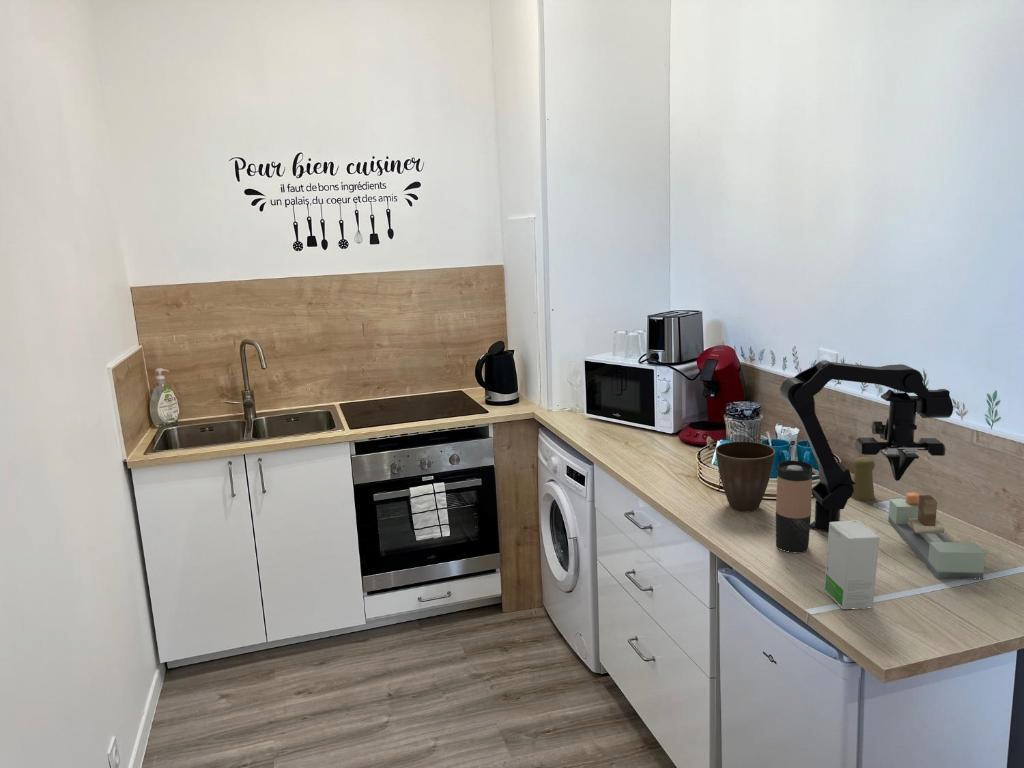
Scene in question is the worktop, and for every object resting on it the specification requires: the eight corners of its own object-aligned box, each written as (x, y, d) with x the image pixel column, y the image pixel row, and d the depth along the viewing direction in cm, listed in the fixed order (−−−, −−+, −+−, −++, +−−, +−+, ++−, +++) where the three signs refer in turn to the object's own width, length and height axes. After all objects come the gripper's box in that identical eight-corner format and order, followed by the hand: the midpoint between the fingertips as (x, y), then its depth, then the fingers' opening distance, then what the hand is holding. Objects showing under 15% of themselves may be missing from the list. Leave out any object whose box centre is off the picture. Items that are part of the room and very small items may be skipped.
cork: (877, 501, 202) (879, 462, 200) (852, 500, 203) (855, 461, 201) (871, 493, 208) (873, 454, 206) (847, 492, 209) (849, 454, 207)
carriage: (944, 533, 174) (946, 502, 173) (916, 532, 175) (918, 502, 173) (935, 524, 179) (937, 494, 177) (908, 524, 180) (910, 494, 178)
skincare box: (823, 591, 157) (826, 521, 154) (853, 588, 158) (857, 518, 154) (843, 611, 149) (848, 538, 145) (876, 609, 149) (881, 535, 146)
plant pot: (743, 522, 193) (744, 462, 189) (702, 504, 206) (703, 447, 202) (785, 509, 200) (787, 451, 196) (744, 492, 213) (745, 438, 209)
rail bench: (983, 579, 159) (985, 552, 158) (937, 578, 160) (939, 552, 159) (926, 522, 188) (928, 499, 187) (888, 521, 189) (889, 499, 188)
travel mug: (808, 541, 180) (812, 461, 176) (810, 555, 173) (813, 472, 169) (774, 538, 183) (777, 459, 178) (774, 551, 176) (777, 469, 171)
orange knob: (921, 512, 183) (923, 497, 183) (907, 512, 184) (908, 497, 183) (916, 507, 186) (918, 492, 186) (903, 507, 187) (904, 492, 186)
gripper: (930, 409, 187) (924, 469, 191) (850, 409, 190) (846, 468, 193) (949, 421, 177) (943, 485, 180) (864, 421, 179) (860, 483, 183)
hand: (896, 480), depth 184 cm, fingers closed
